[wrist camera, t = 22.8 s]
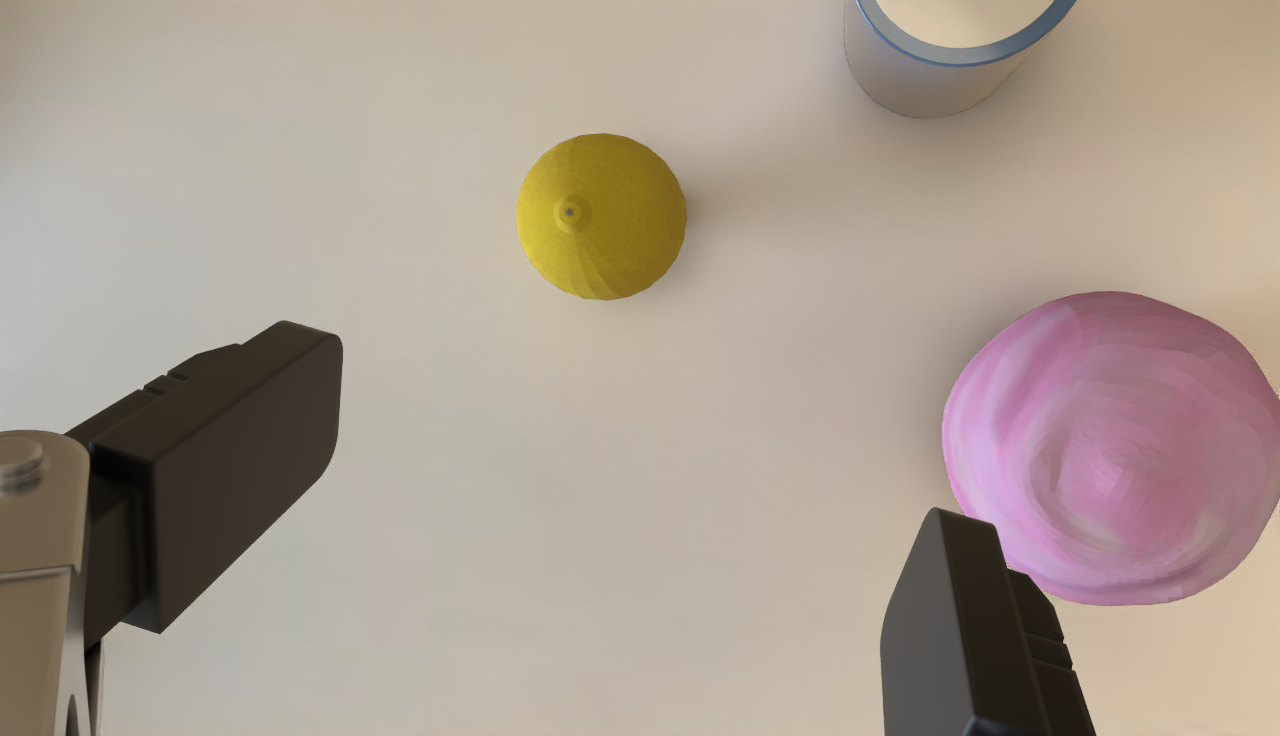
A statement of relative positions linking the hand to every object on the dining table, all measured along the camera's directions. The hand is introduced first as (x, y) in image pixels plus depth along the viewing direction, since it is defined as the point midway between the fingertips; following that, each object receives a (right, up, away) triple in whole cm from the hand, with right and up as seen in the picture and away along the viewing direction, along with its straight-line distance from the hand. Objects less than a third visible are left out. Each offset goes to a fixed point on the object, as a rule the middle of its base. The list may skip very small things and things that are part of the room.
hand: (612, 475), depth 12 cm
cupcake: (+15, 0, +20) cm, 25 cm away
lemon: (0, +7, +23) cm, 24 cm away
